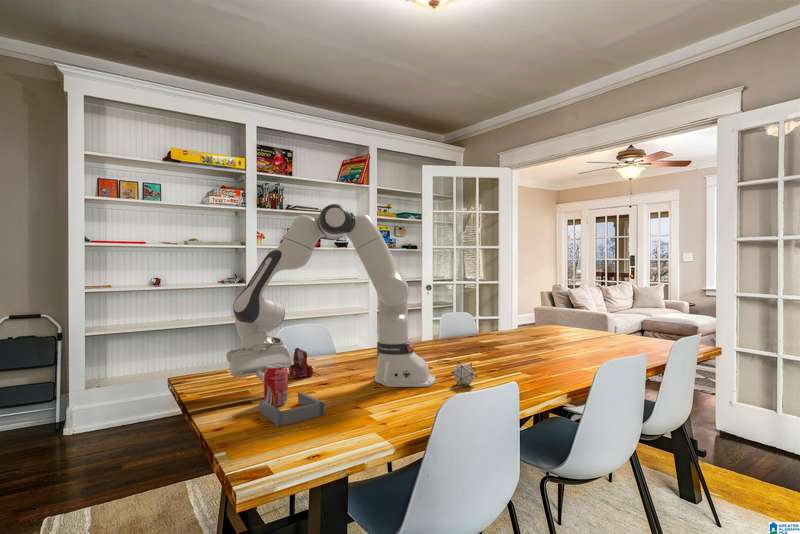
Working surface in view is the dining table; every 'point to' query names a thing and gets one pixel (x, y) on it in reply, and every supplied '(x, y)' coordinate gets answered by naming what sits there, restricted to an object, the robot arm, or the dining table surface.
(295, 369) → the toy fire truck
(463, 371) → the game die
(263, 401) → the corral
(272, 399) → the soda can
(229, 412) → the dining table surface
